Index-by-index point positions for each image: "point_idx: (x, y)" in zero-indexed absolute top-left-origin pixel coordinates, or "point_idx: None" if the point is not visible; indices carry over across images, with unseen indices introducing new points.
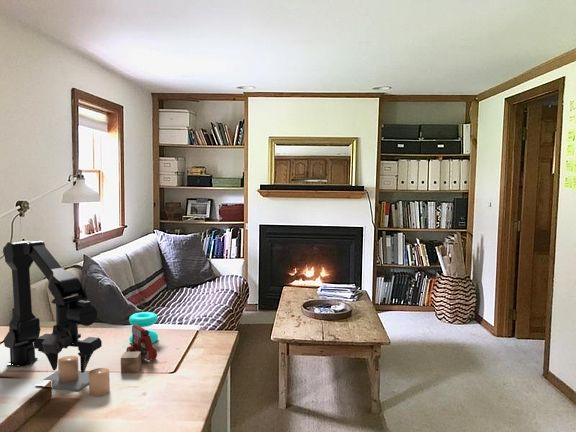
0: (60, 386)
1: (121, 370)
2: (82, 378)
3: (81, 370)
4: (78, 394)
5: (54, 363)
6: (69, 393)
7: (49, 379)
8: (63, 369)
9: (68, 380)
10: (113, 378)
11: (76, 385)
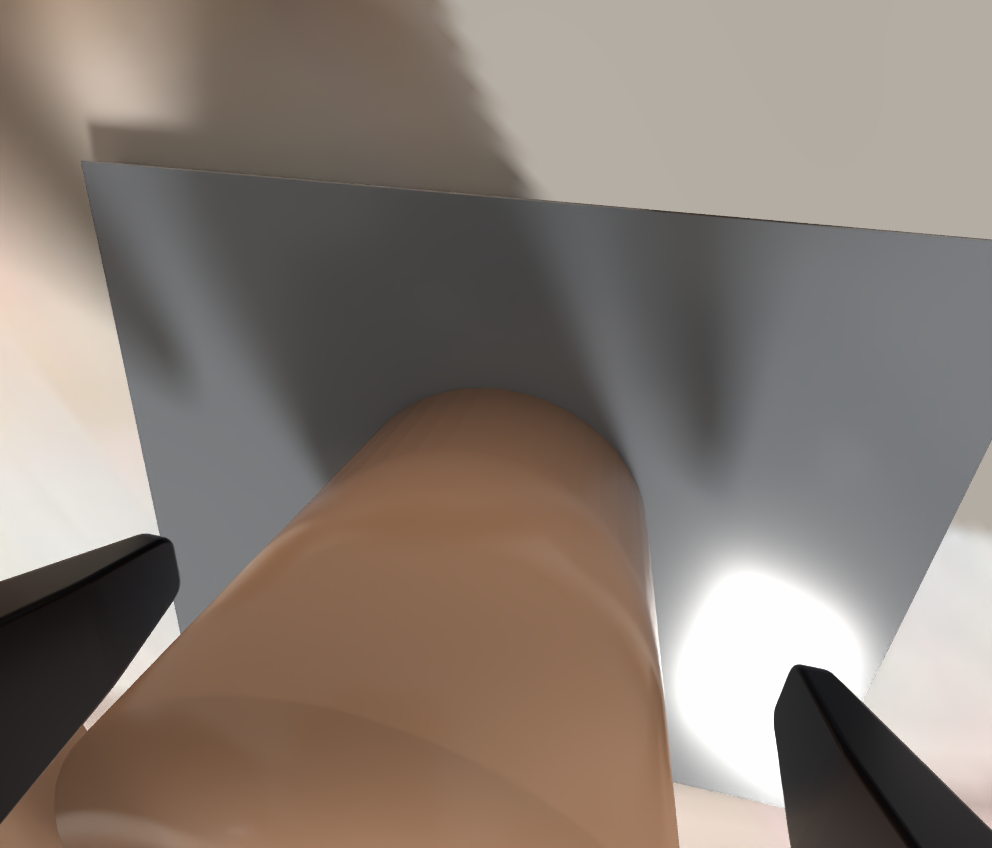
0: (453, 217)
1: None
2: None
3: (107, 556)
4: (32, 26)
5: (855, 845)
6: (193, 37)
7: (829, 498)
8: (401, 520)
9: (403, 412)
10: (21, 565)
11: (217, 294)
